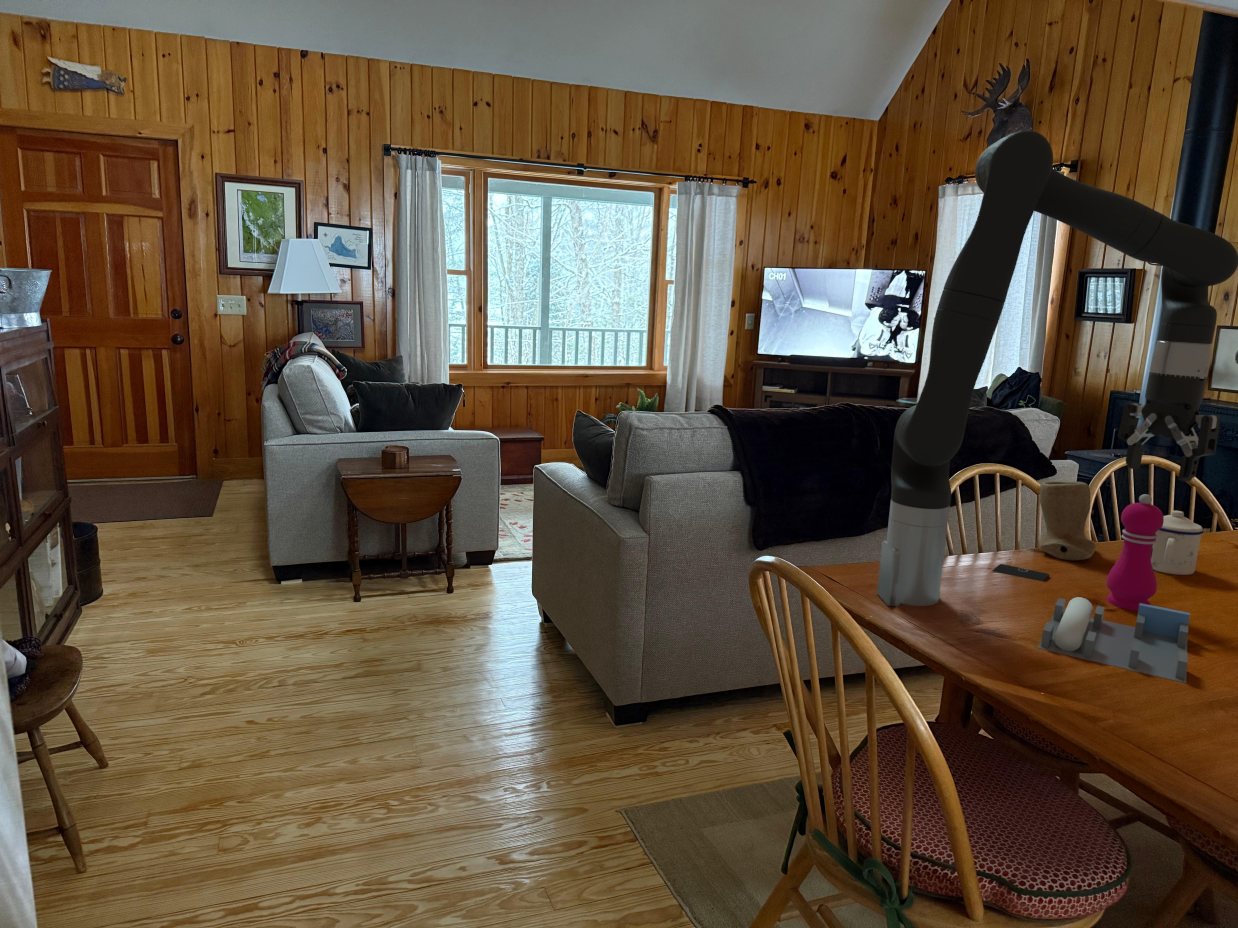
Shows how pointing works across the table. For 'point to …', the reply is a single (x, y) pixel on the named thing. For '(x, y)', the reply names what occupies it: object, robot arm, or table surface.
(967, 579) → the table surface
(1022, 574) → the cell phone
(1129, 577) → the pepper mill
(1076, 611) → the white rounded capsule
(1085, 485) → the sheepskin slipper boot
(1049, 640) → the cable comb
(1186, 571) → the teacup with lid
